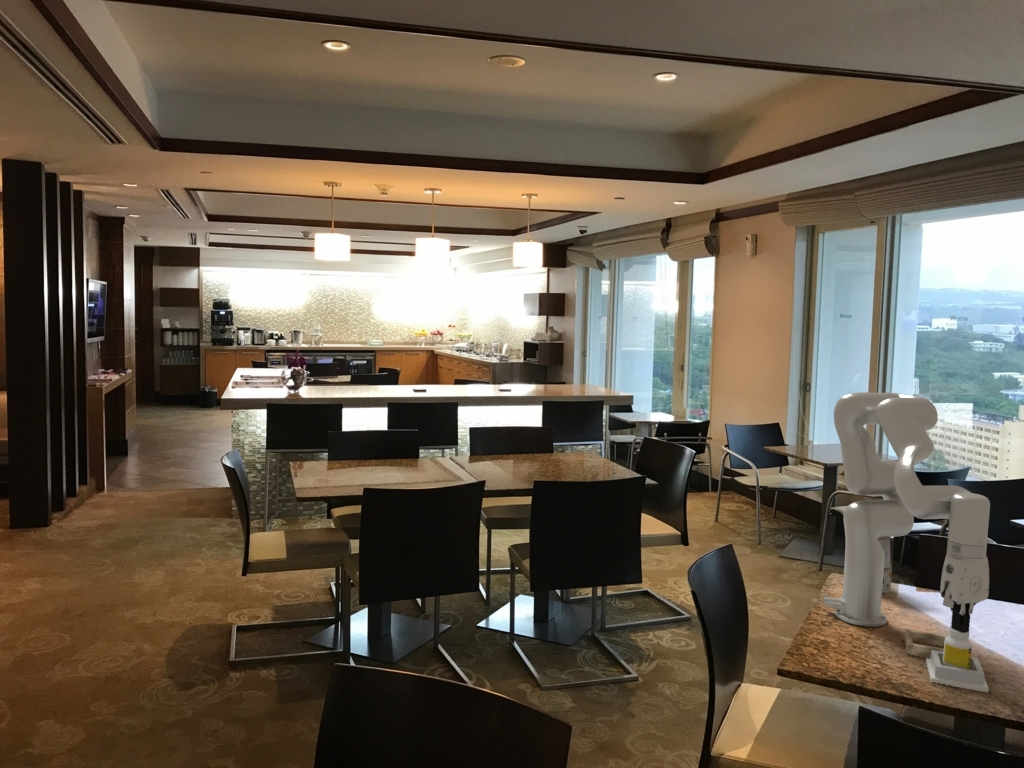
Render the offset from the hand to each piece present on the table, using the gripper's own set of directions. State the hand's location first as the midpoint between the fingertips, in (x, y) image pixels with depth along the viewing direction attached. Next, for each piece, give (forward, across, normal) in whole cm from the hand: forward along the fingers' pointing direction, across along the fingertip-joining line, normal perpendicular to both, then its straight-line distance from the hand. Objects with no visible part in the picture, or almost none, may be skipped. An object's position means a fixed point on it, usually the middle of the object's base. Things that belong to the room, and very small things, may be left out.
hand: (959, 629), depth 178 cm
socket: (+11, 0, 0) cm, 11 cm away
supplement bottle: (+10, 0, 0) cm, 10 cm away
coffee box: (+11, +29, +51) cm, 60 cm away
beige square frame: (+11, +7, +12) cm, 18 cm away
